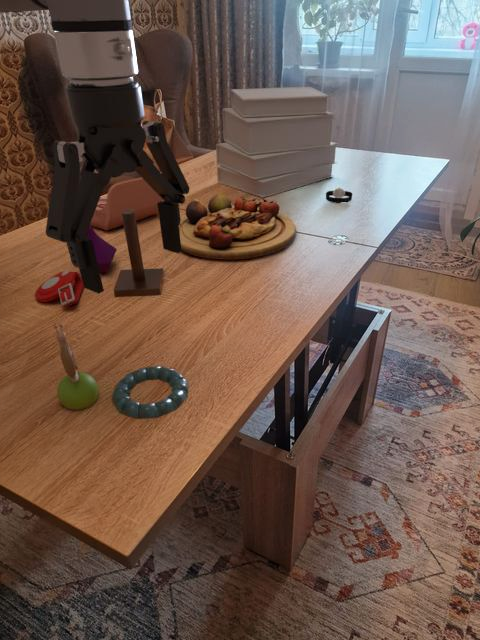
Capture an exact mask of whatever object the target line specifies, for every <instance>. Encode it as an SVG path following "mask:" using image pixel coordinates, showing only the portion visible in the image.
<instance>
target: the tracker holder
mask: <svg viewBox="0 0 480 640" xmlns="http://www.w3.org/2000/svg"><path fill="white" fill-rule="evenodd" d="M83 289H84V286H83V282H82V278H81V274H80V273H79V272H78V271H69V270H65V271H60V272H58V273H56V274H55V275H52V276H51V277H50V278H48V279H46V280H45V281H44V282H42V283H41V284H40V285H39V286H38V287H37V288H36V290H35V292H34V298H35V299H36V300H37V301H38V302H40V303H47V302H51V301H53V300H56V299H57V298H59V300H60V305H61V306H62V307H63V306H67V307H71V306H72V305H74V304H77V303H78V301H79V299H80V297H81V294H82V291H83Z"/></svg>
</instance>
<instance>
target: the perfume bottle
mask: <svg viewBox="0 0 480 640" xmlns="http://www.w3.org/2000/svg"><path fill="white" fill-rule="evenodd" d="M85 237H87V238H90V239H92V241H93V245H94V250H95V254H96V259H97V263H98V267H99V272H100V275H105V274H107V273H108V271H109V269H110V267H111V265H112V262H113V260H114V257H115V255H116V252H117V248H116V247H115V246H113V245H112V244H110V243H109V242H107V241H106V240H104V239H103V238H102V237H101V236H100V235H99V234H98V233H97V232H96V231H95V229H94V227H93V226H91V225H89V228H88V231H87V233H86V236H85Z"/></svg>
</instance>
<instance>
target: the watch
mask: <svg viewBox="0 0 480 640" xmlns="http://www.w3.org/2000/svg"><path fill="white" fill-rule="evenodd" d="M352 198H353V193H352V192H351V191H348V190H344V188H342V187H337V188H335V189H334V190H328V191H326V192H325V200H326V201H327V202H330V203H334V202H336V203H335V204H342V203H341V202H346V203H349V202H351V201H352V200H353V199H352Z"/></svg>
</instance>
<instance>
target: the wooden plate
mask: <svg viewBox="0 0 480 640" xmlns="http://www.w3.org/2000/svg"><path fill="white" fill-rule="evenodd" d="M180 219H181V222H180V225H179V232H180V241H181V250H182V252H184V253H186V254H188V255H191V256H194V257H195V256H196V257H200V258H205V259H213V260H243V259H244V260H245V259H251V258H258V257H262V256H267V255H270V254H272V253H275V252H278V251H280V250H282V249H284V248H285V247H287V246H288V245H290V244H291V243H292V242H293V240H294V239H295V237H296V234H297V226H296V223H295V222H294V220H293V219H291V217H289V216H288V215H286V214H285V213H282V212H281V211H280V205H279V203H278V202H277V201H275V200H274V199H273V200H271V201H268V200H266V198H262V201H258V202H257V201H256V198H254V199H248V200H246V198H245V195H243V196H239V197H237V198H236V199H235V200H234V204H232V201H231V200H230V199H229V197H227V196H225V195H224V194H222V193H221V192H219V193H217V194H216V195H214V196H212V198H210V200H209V201H208V203H207V206H206V205H205V204H204V203H203V202H202V201H201V200H199V199H198V198H194V199H192V200H191V201H189V202H188V204H187V205H186V207H185V214H184V215H182V216H180Z"/></svg>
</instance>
